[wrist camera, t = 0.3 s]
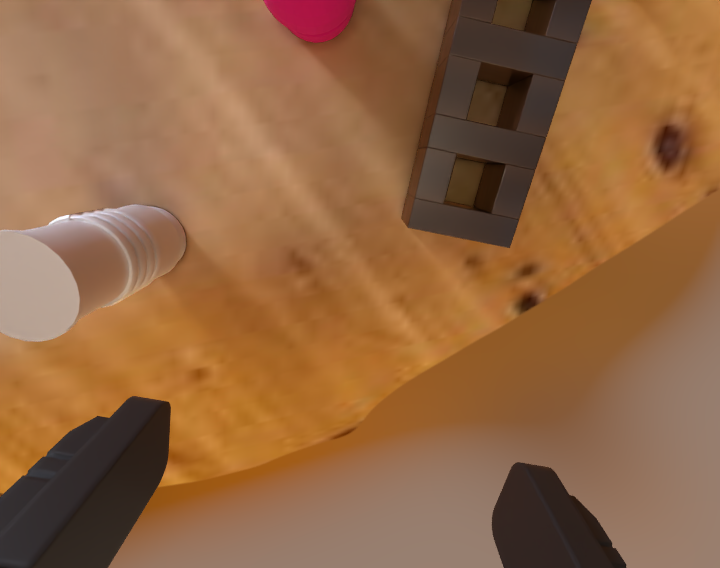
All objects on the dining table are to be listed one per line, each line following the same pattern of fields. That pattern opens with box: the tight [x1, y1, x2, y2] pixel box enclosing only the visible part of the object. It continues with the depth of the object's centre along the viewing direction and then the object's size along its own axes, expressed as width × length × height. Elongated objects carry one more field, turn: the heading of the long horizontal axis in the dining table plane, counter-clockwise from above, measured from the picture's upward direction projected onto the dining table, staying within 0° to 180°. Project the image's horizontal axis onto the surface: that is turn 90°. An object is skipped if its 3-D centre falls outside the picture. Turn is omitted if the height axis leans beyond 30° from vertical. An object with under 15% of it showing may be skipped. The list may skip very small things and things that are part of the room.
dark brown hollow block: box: [402, 0, 592, 248], centre depth 30 cm, size 21×9×5 cm, turn 169°
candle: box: [0, 204, 186, 342], centre depth 29 cm, size 7×7×15 cm
